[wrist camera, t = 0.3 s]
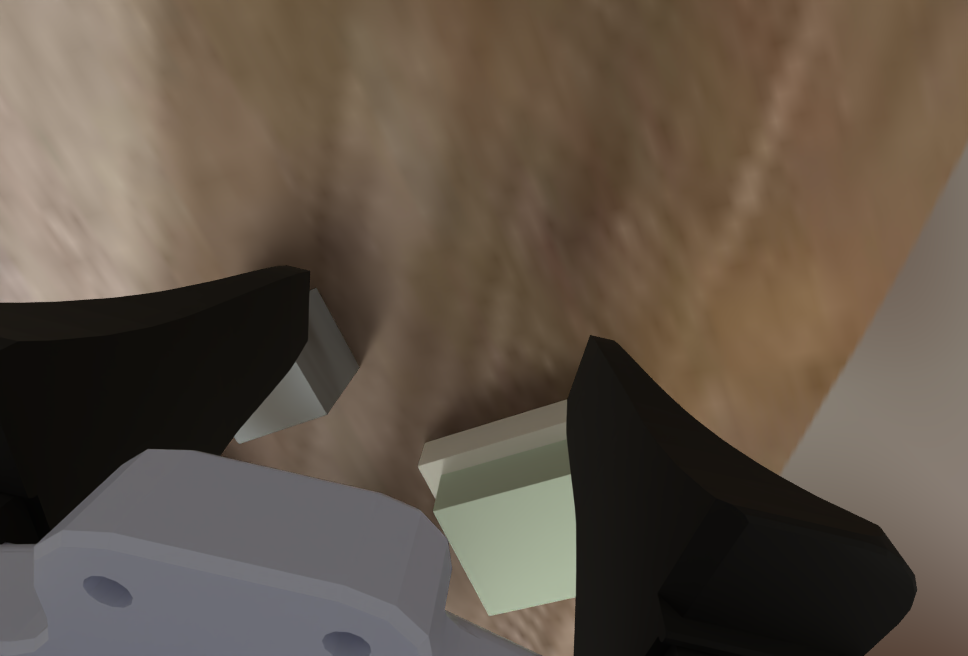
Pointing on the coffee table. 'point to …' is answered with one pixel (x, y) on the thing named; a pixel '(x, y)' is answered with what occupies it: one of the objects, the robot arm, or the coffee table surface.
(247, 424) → the slate cube
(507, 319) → the coffee table surface
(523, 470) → the tower top slab
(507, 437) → the tower base slab
